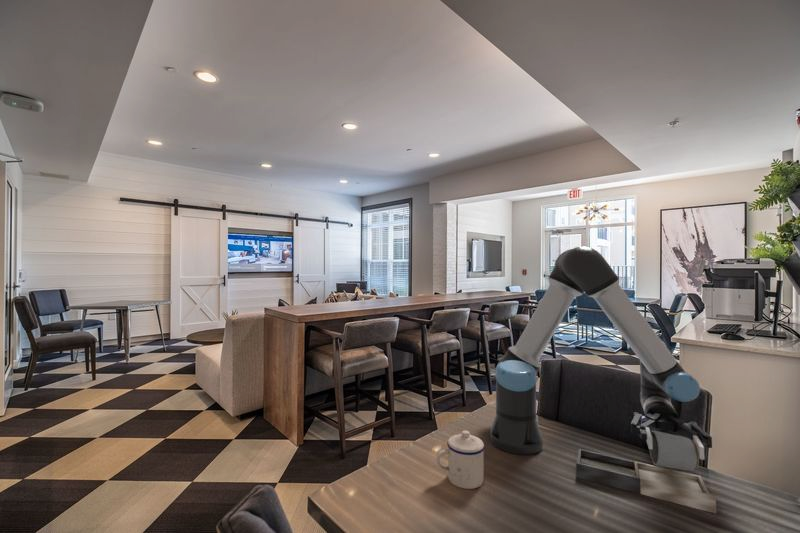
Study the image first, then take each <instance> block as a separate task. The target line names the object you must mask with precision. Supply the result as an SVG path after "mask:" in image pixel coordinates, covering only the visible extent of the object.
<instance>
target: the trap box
mask: <svg viewBox="0 0 800 533" xmlns="http://www.w3.org/2000/svg"><path fill="white" fill-rule="evenodd" d="M577 453H578V454H577V461H576V464H575V467H576V468H575V477H576V478H578V479H582V480H585V481H590V482H593V483H598V484H601V485H605V486H609V487H612V488H616V489H620V490H625V491H628V492H631V493H632V492H633V493H636V494H640V495H644V496H647V497H651V498H655V499H658V500H662V501H666V502H670V503H674V504H677V505H681V506H685V507H689V508H693V509H697V510H700V511H704V512H709V513H711V514H717V496H716V495H714V494H710V492H709V490H708V488H707V486H706V483H705V482H704V480H703V478H702V476H701V475H698V474H693V473H689V472H684V471H681V470H677V469H672V468H668V467H662V466H656V465H654V464H648V463H645V462H640V461H635V460H630V459H626V458H622V457H617V456H614V455H613V456H612V455H608V454H603V453H599V452H594V451H591V450H586V449H581V448H579V449H578V452H577ZM582 457H587V458H590V459H594V460H598V461H604V462H608V463H612V464H614V465H615V464H617V465H620V466H624V467H629V468H633V469H634V473H635V474H634V475H632V474H627V473H623V472H619V471H614V470H611V469H607V468H602V467H599V466H594V465H589V464H586V463H582V459H581V458H582Z"/></svg>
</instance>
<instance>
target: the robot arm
mask: <svg viewBox="0 0 800 533" xmlns="http://www.w3.org/2000/svg"><path fill="white" fill-rule="evenodd" d="M547 280H548V283H549V286H548V288H547V289H546V291H545V292H544V294H543V296H542V297H541V300H540V302H539V303H538V305H537V307H536V308H535V311H534V312H533V314H532V316H531V317H530V319H529V321H528V323H527V325H526V326H525V328H524V330H523V331H522V333H521V335H520V337H519V338H518V340H517V341H516V343H515V345H513V346H509V347H508V348H507V349H506V352H505V353H504V355H503V357H502V358H501V359H499V361H498V363H497V365H496V367H495V372H494V373H495V375H494V376H495V417H494V419H493V422H492V426H491V429H490V433H489V434H490V435H489V438H490V442H491V444H492V445H493V446H495V447H496V448H497V449H499V450H501V451H504V452H507V453H510V454H516V455H525V456H526V455H534V454H537V453H540V452H541V451H542V449H543V448H544V447H543V446H544V444H543V441H544V440H543V436H542V432H541V430H540V427H539V424H538V421H537V379H538V377H537V374H538V372H539V371H540V368H541V367H542V366H541V363H540V358H541V357H542V355H543V353H544V352H545V350H546V348H547V346H548V345H549V343H550V341H551V339H552V338H553V336H554V334H555V333H556V331H557V329H558V328H559V326H560V324H561V323H562V320H563V319H564V317H565V315H566V313H567V312H568V310H569V308H570V307H571V305H572V303H573V302H574V300H575V298H577V297H580V296H583V294H585V295H586V296H587V297H589V298H592V299H594V300H595V302H596V303H597V305H598V306H599V308H600V309H601V310H602V311H603V313H604V315H606V316H607V318H608V320H610V322H611V323H612V324H613V326H614V327H615V329H616V331H618V333H619V334H620V336H621V337H622V338H623V340H624V341H625V342H626V343H627V345H628V346H629V347H630V348H631V350H632V352H633V353H634V354H635V356H636V357H637V358H638V360H639V369H640V393H639V404H641V407H642V409H643V412H644V415H642V414H640V413H639V412H636V411H635V412H633V417H632V418H633V419H632V420H631V421H630V431H631V432H630V433H631V434H633V435H637V434H639V439H641V440H644V441H646V444H647V447H648V450H649V449H652V450H653V445H652V435H651V431H658V432H663V433H672V434H673V435H678V436H683V437H686V438H689V439H691V440H692V441H693V442H694V443H695V445H696V447H697V450H698V456H699V460H702V461H704V460H705V459H706V458H705V452H707V450H708V449H713V437H712V436H711V435H710V434H709V433H708V432H706V431H705V430H704V429H702V428H701V426H699V425H698V424H697V422H696V421H690V422H688V423H686V422H684V421H683V419H680V417H679V414H678V412H677V411H676V409H675V407H674V406H673V404H672V399H674V400H675V401H678V402H683V403H684V402H686V403H687V402H691V401H693V400H695V399H696V398H698V396H699V394H700V390H701V386H700V384H699V381H697V379H696V378H695V377H694V376H692V375H691V374H690V373H688V372H686V371H685V369H683V366H682V365H681V364H680V363H679V361H678V360H677V359H676V358H675V357H674V355H673V353H672V352H671V351H670V350H669V348H668V347H667V345H665V343H664V342H663V340H662V339H661V338H660V336H659V335H658V334H657V333H656V331H655V330H654V328H652V326H651V325H650V323H649V322H648V321H647V320H646V318H645V317H644V316H643V314H642V313H641V312H640V310H639V309H638V307H637V306H636V305H635V304H634V303H633V301H632V300H631V298H630V297H629V296H628V294H627V293H626V292H625V290H624V289H623V288H622V287H621V286H620V283H619V282H620V278H619V277H618V275H617V274H616V272H615V271H614V270H613V268H612V267H611V265H610V264H609V263H608V261H607V260H606V259H605V258H604V256H603V255H602V253H600V252H599V251H598V250H596V249H594V248H592V247H589V246H576V247H574V248H570V249H567V250H565V251H563V252H562V253H560V255H558V257H557V258H556V259H555V263H554V267H553V269H552V271H551V272H550V275H549V276H548V277H547Z"/></svg>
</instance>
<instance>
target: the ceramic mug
mask: <svg viewBox="0 0 800 533" xmlns="http://www.w3.org/2000/svg"><path fill="white" fill-rule="evenodd" d="M651 435H652V445H653V450H652V449H649V448H648V451H649V455H650V459H651V461H652V463H653V465H654V466H658V467H662V468H667V469H673V470H680V471H681V470H682V471H687V472H691V471H692V472H694V471H696V470H698V468H699V466H700V458H699V456H698V450H697V447H696V445H695V443H694V442H693V441H692V440H691V439H689V438H686V437H683V436H678V435H676V434H673V433H672V434H671V433H669V432H660V431H651Z"/></svg>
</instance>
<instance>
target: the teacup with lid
mask: <svg viewBox="0 0 800 533" xmlns="http://www.w3.org/2000/svg"><path fill="white" fill-rule="evenodd" d="M446 445H447V447H448V448H447V449H442V450H439V452H437V454H436V455H435V461H436V464H437V466H438V468H439V469H440V470H441V471H443V472H447V473H448V474H447V476H448V480H449V481H450V483H451V484H453V485H454V486H455V487H458V488H460V489H465V490H472V489H476V488H479V487H481V486H482V484H483V483H484V450H485V444H484V442H483V440H482V439H480V438H479V437H478V436H475V435H472V434H471V432H470V431H469V430H463V431H461V433H458V434H454V435H451V436H450V437H449V438H448V440H447V444H446ZM444 455H447V456H448V457H447V459H448V460H447V462H448V464H447V465H448V466H443V465H442V464H441V462H440V459H441V457H442V456H444Z"/></svg>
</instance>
